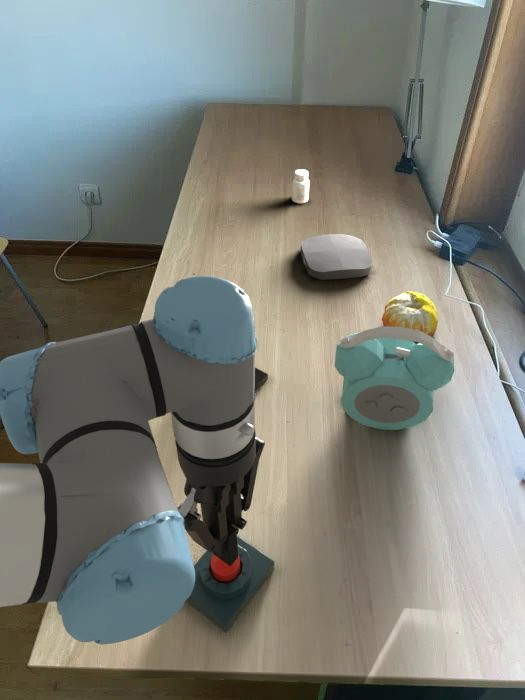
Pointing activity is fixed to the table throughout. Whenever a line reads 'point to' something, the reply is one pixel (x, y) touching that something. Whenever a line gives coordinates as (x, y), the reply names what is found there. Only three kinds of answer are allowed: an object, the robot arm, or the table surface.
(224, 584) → the button box
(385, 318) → the fruit
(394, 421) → the alarm clock
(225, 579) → the button
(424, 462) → the table surface
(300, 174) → the pill bottle
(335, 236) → the media streaming box
